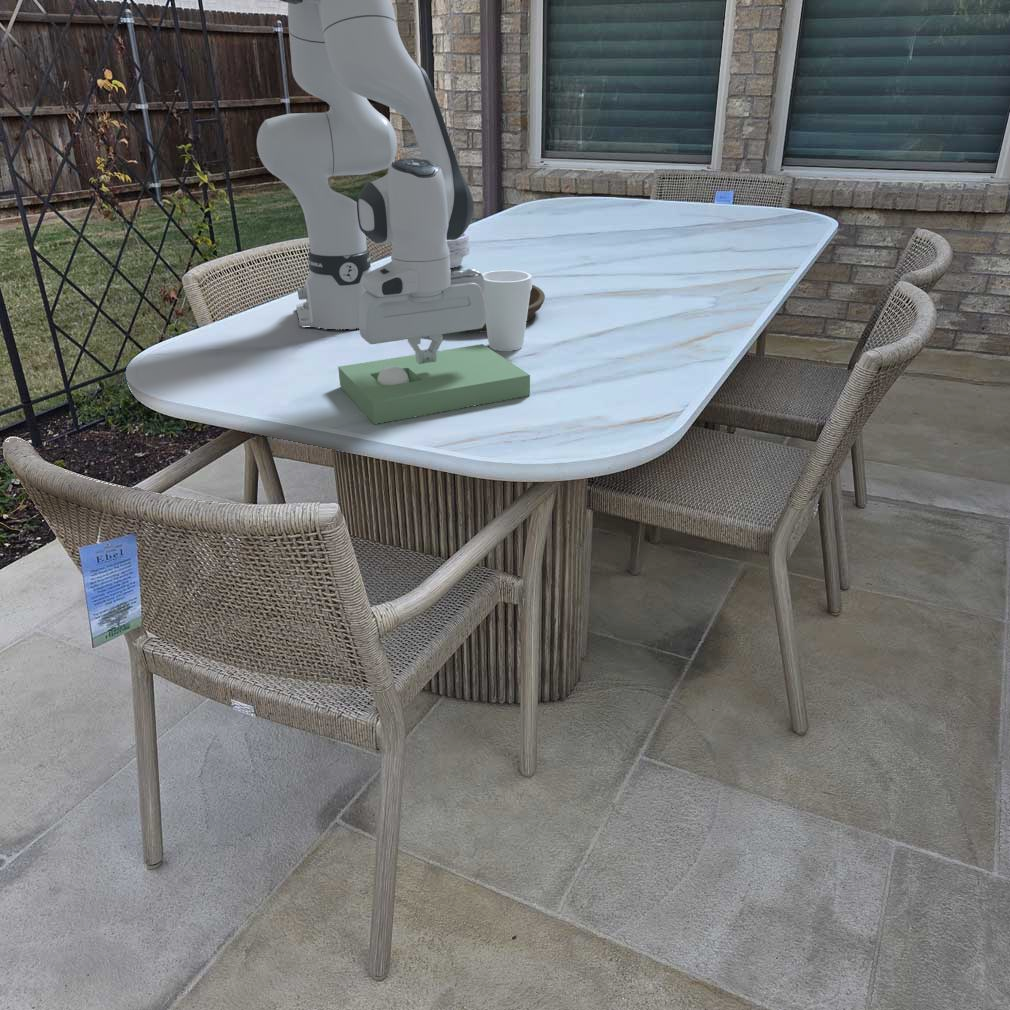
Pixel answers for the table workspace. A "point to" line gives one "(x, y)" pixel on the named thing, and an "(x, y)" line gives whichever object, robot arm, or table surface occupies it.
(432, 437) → the table surface
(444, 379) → the green
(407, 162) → the robot arm
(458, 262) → the paper bowls
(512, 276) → the foam cup
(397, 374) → the ball
